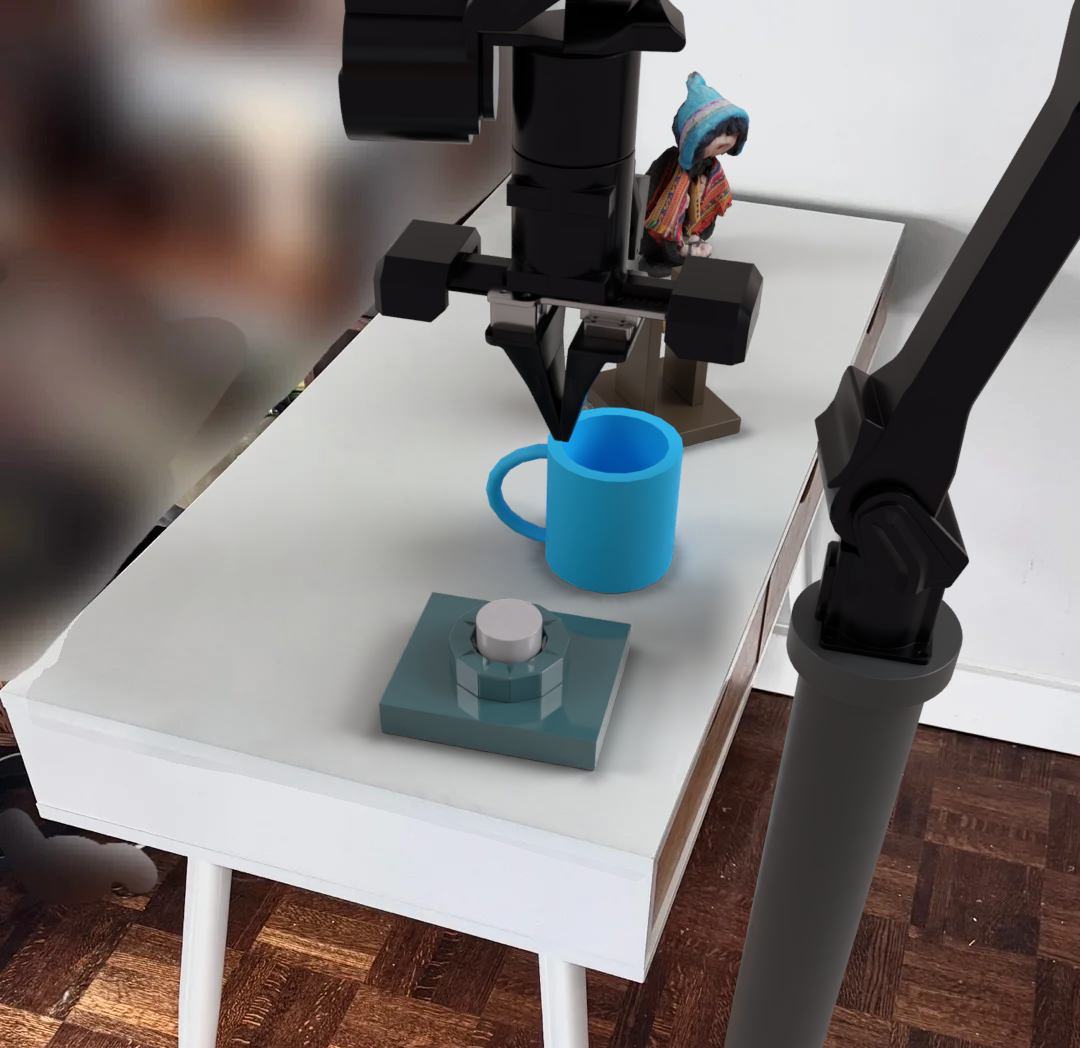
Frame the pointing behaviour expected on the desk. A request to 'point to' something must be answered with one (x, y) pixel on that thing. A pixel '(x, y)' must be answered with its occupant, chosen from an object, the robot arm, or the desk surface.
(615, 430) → the mug
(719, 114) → the figurine
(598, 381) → the lever bracket
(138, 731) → the desk surface
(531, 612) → the flush button
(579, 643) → the block
